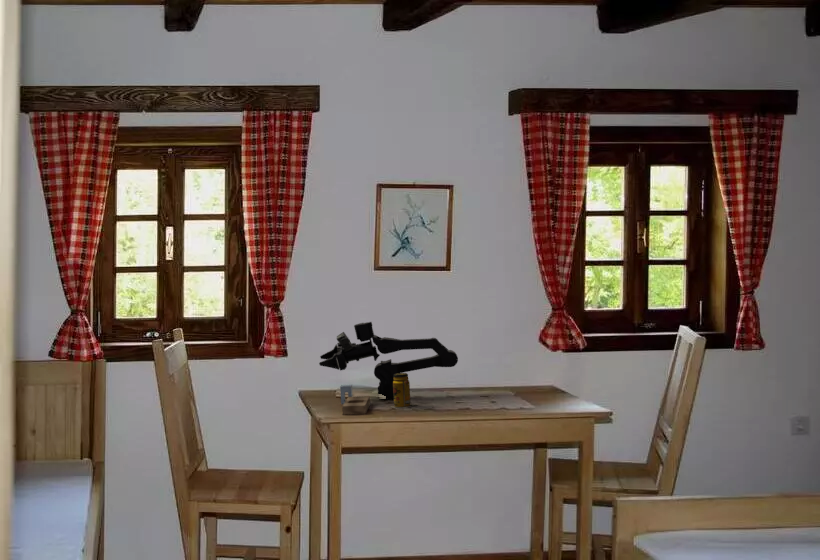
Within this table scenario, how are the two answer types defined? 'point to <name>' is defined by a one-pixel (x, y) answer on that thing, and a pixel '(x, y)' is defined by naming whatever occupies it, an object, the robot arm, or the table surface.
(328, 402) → the table surface
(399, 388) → the condiment
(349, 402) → the brown slotted block
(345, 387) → the clip
